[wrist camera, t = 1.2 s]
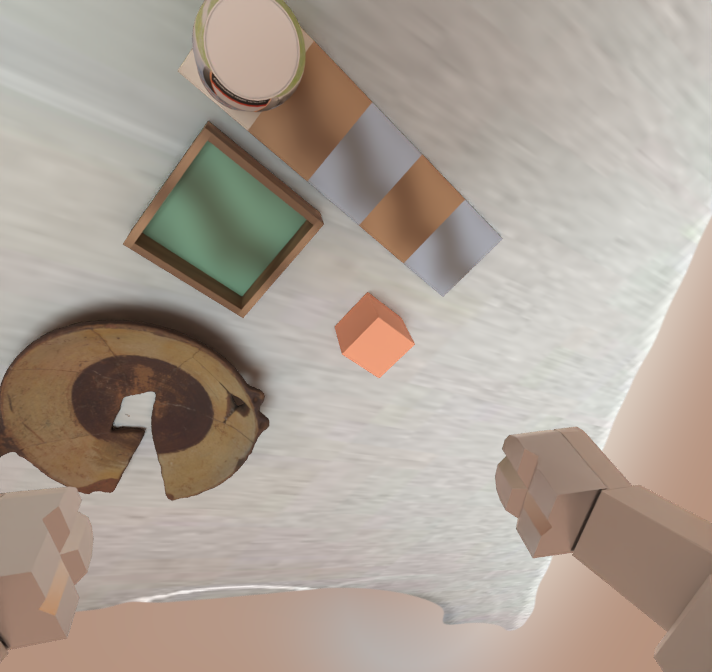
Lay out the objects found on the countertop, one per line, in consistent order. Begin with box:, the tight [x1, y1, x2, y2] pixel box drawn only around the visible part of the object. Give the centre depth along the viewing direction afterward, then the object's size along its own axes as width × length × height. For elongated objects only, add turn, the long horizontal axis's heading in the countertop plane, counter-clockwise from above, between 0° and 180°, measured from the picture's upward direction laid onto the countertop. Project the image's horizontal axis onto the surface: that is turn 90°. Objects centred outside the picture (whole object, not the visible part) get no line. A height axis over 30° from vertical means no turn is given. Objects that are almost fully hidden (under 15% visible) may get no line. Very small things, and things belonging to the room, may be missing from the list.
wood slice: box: [0, 320, 269, 501], centre depth 44 cm, size 22×30×8 cm
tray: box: [123, 121, 324, 318], centre depth 39 cm, size 11×11×3 cm
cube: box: [335, 292, 415, 378], centre depth 46 cm, size 5×5×5 cm
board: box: [178, 27, 502, 296], centre depth 39 cm, size 8×30×1 cm, turn 47°
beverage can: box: [192, 0, 306, 112], centre depth 29 cm, size 6×7×12 cm
